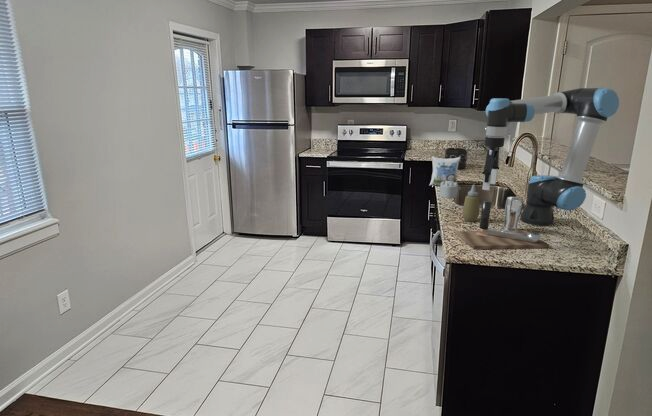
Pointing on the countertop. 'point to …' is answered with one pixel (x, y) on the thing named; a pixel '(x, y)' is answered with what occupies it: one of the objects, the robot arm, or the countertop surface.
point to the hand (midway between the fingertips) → (488, 186)
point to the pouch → (444, 170)
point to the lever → (519, 236)
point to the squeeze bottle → (471, 205)
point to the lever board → (497, 241)
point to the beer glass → (512, 213)
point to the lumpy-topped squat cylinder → (448, 189)
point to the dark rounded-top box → (455, 154)
